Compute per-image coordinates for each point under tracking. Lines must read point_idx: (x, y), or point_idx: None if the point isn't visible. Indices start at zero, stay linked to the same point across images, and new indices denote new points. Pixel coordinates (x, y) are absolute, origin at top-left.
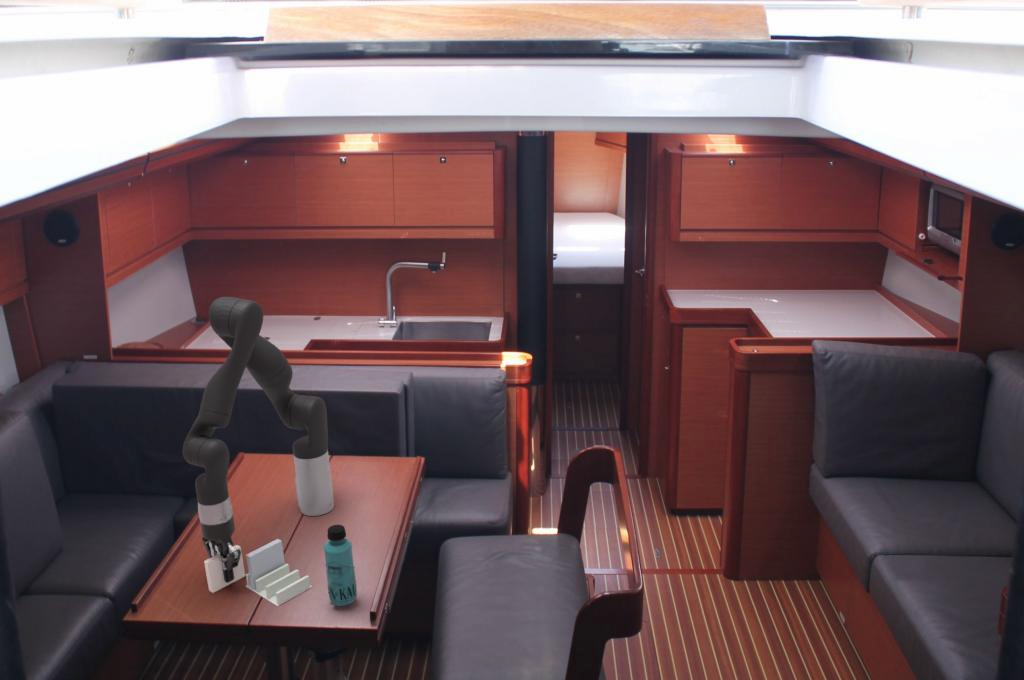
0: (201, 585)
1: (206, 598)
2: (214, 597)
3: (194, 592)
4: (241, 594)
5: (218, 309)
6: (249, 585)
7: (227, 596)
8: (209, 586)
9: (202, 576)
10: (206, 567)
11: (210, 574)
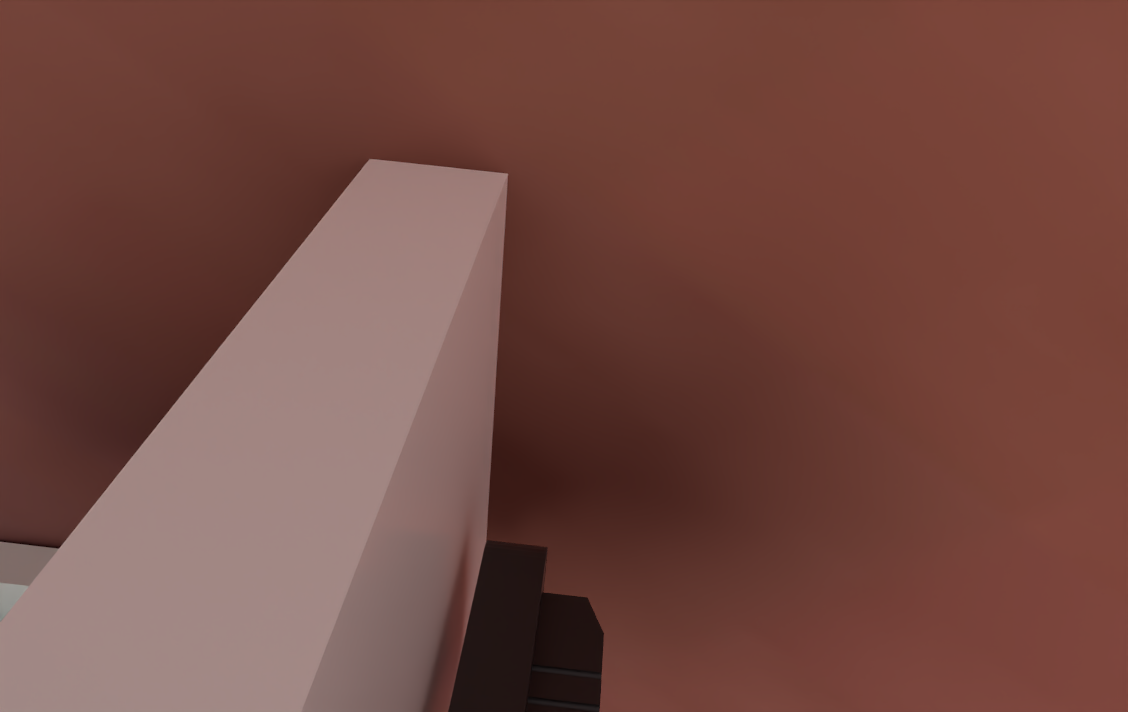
0: (894, 269)
1: (404, 20)
2: (302, 139)
3: (836, 20)
4: (29, 439)
5: None
6: None
7: (144, 289)
8: (417, 242)
9: (1105, 461)
10: (174, 671)
11: (141, 478)
